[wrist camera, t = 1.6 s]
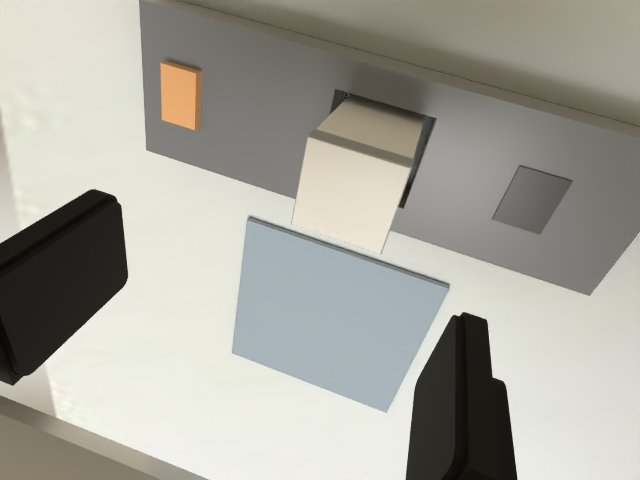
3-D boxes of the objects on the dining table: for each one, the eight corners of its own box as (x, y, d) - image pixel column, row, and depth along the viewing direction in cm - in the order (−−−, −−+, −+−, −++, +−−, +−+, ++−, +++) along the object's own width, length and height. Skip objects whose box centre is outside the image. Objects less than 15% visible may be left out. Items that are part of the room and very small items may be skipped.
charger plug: (428, 110, 22) (412, 168, 15) (403, 180, 24) (380, 255, 17) (353, 89, 22) (306, 135, 16) (336, 159, 24) (290, 224, 18)
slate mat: (449, 285, 27) (449, 289, 26) (387, 408, 35) (386, 412, 34) (249, 217, 28) (246, 220, 28) (233, 349, 36) (231, 353, 36)
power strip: (674, 136, 19) (706, 160, 17) (578, 268, 24) (592, 303, 21) (168, -3, 22) (131, 0, 20) (170, 137, 27) (140, 153, 24)
